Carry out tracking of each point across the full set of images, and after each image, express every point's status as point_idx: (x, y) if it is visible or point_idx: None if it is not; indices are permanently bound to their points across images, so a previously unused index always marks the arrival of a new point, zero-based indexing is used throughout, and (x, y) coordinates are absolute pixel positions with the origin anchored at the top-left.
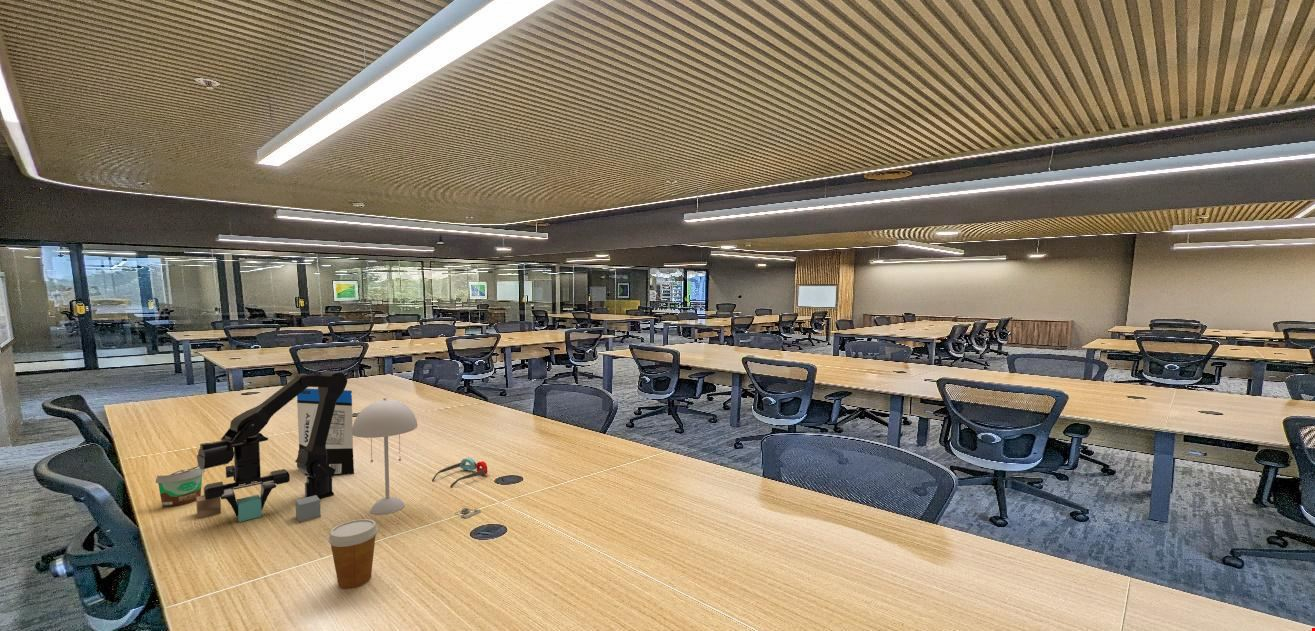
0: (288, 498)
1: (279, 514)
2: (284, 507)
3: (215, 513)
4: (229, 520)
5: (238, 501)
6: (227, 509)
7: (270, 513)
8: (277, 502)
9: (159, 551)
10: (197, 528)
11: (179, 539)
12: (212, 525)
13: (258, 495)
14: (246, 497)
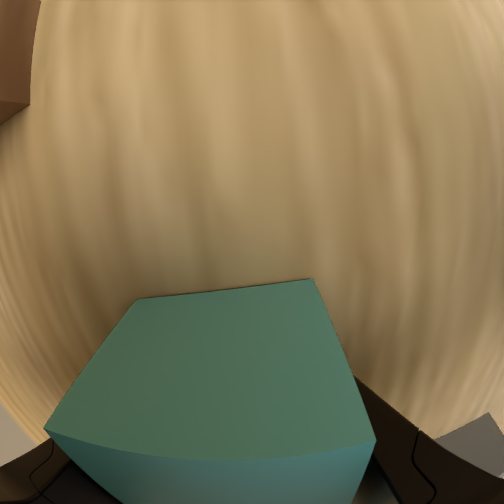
0: (498, 80)
1: (404, 401)
2: (468, 289)
3: (5, 116)
4: (106, 331)
5: (116, 494)
6: (65, 35)
7: (376, 365)
8: (451, 104)
9: (29, 435)
10: (7, 331)
11: (19, 398)
12: (48, 344)
13: (358, 473)
14: (162, 465)
